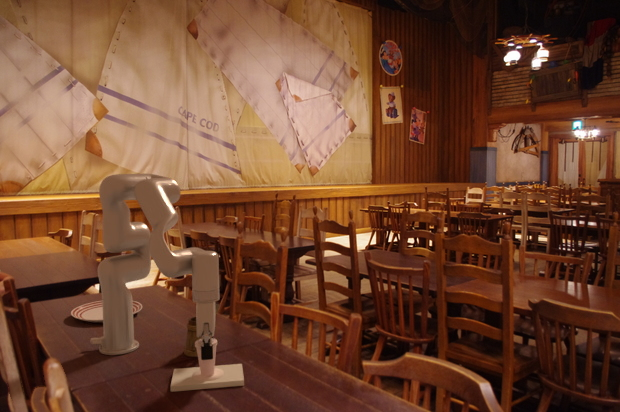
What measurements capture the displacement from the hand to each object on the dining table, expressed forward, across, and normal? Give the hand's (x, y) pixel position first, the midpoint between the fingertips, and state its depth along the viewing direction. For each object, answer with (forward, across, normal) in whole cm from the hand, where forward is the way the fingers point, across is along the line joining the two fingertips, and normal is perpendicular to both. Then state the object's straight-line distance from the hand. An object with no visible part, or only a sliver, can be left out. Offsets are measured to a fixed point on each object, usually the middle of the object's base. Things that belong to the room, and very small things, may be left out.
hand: (207, 352), depth 146 cm
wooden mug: (+8, -21, -2) cm, 23 cm away
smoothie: (+6, 0, 0) cm, 6 cm away
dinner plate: (+8, -72, -42) cm, 84 cm away
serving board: (+8, 0, 0) cm, 8 cm away
